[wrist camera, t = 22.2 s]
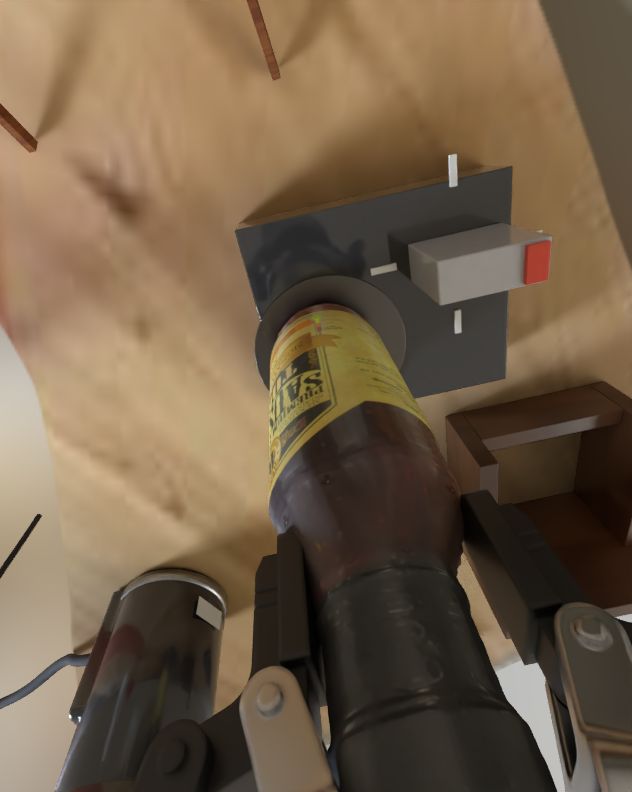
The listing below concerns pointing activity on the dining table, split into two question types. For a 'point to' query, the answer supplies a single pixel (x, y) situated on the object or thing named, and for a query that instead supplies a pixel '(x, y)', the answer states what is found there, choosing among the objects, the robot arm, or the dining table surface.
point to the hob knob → (479, 262)
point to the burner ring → (332, 291)
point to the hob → (396, 267)
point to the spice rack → (572, 512)
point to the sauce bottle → (385, 571)
